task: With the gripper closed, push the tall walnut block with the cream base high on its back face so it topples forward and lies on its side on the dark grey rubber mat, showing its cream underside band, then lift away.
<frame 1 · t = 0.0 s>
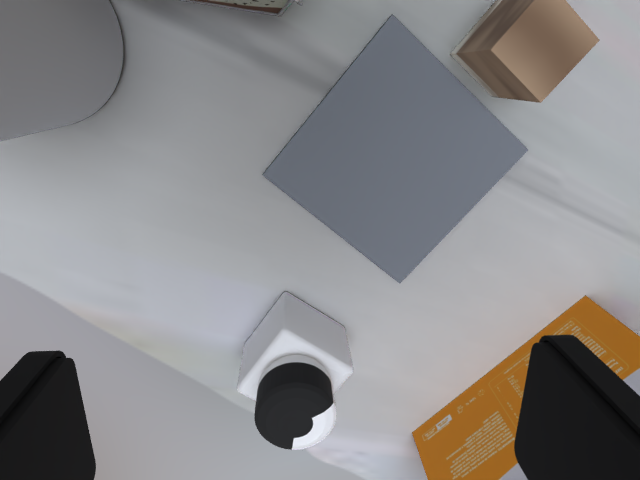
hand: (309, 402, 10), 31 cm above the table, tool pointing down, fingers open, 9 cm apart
cereal box: (511, 383, 49), on the table
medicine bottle: (294, 334, 45), on the table
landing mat: (395, 161, 40), on the table
cylinder vase: (42, 40, 35), on the table
walnut block: (493, 50, 37), on the table
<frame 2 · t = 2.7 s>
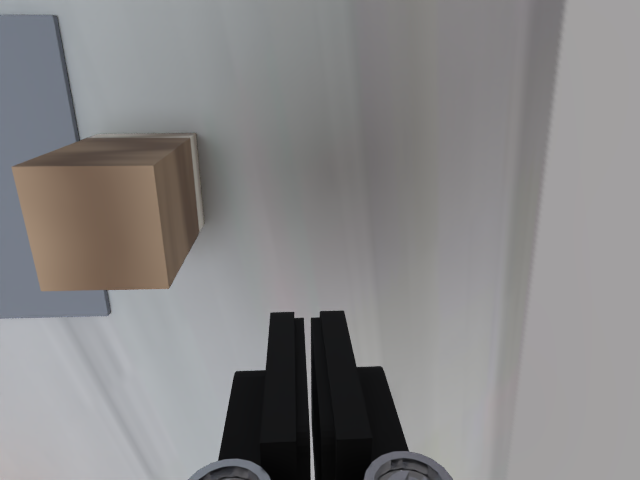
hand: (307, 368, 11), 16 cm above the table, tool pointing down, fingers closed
walnut block: (153, 180, 25), on the table
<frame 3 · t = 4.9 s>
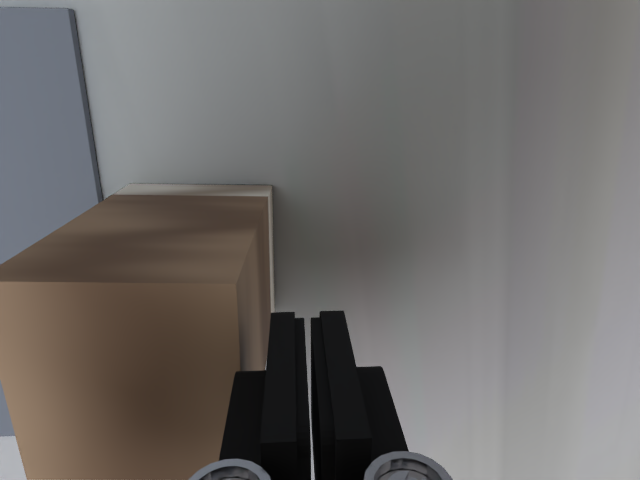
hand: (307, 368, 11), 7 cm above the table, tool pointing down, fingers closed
walnut block: (206, 250, 17), on the table, touching gripper
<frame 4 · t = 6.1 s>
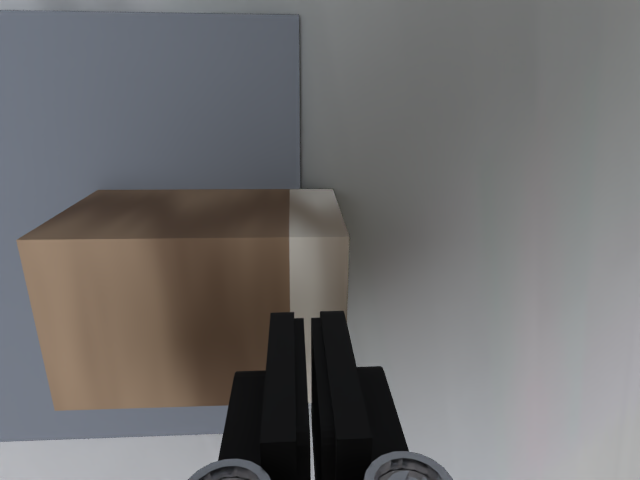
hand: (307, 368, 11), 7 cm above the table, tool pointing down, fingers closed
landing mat: (81, 255, 17), on the table
walnut block: (337, 284, 15), point 3 cm above the table, tilted 90°, touching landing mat
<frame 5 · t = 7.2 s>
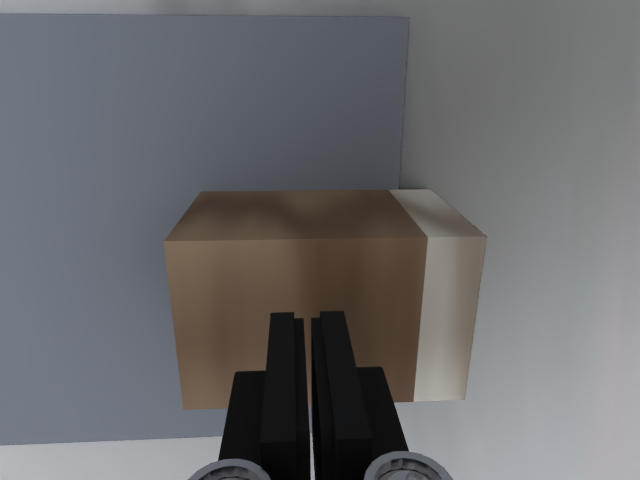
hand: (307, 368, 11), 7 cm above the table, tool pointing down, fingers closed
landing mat: (177, 256, 17), on the table
walnut block: (445, 284, 15), point 3 cm above the table, tilted 90°, touching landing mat
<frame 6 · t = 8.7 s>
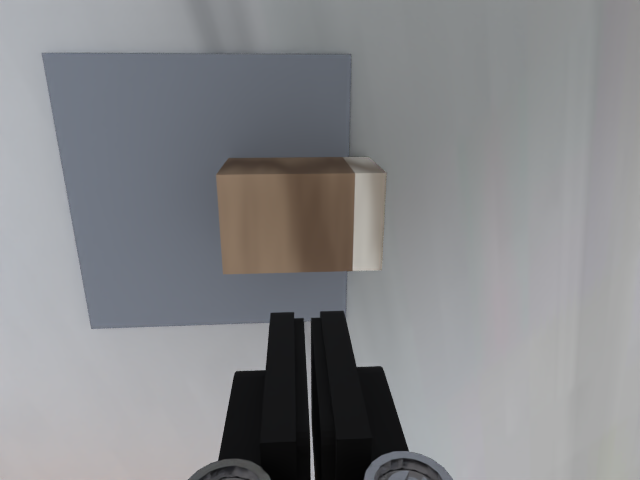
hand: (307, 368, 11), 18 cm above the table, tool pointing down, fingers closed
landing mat: (212, 200, 27), on the table
walnut block: (374, 210, 25), point 3 cm above the table, tilted 90°, touching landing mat
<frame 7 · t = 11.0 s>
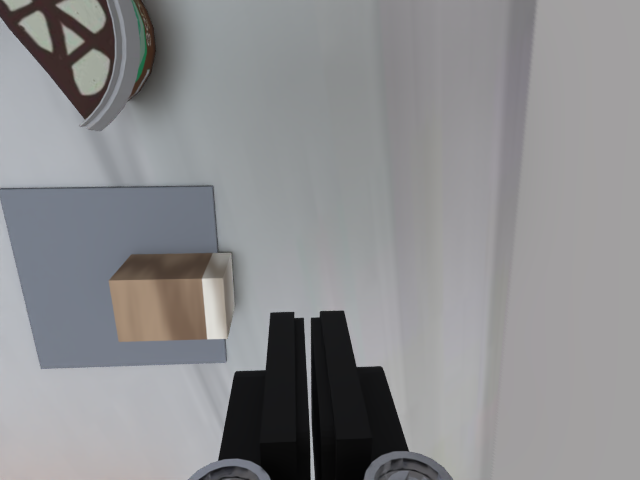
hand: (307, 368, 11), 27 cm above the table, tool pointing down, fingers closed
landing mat: (123, 281, 39), on the table
food container: (120, 16, 32), on the table
walnut block: (229, 293, 37), point 3 cm above the table, tilted 90°, touching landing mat
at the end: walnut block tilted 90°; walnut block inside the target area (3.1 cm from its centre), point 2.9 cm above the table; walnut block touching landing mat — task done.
